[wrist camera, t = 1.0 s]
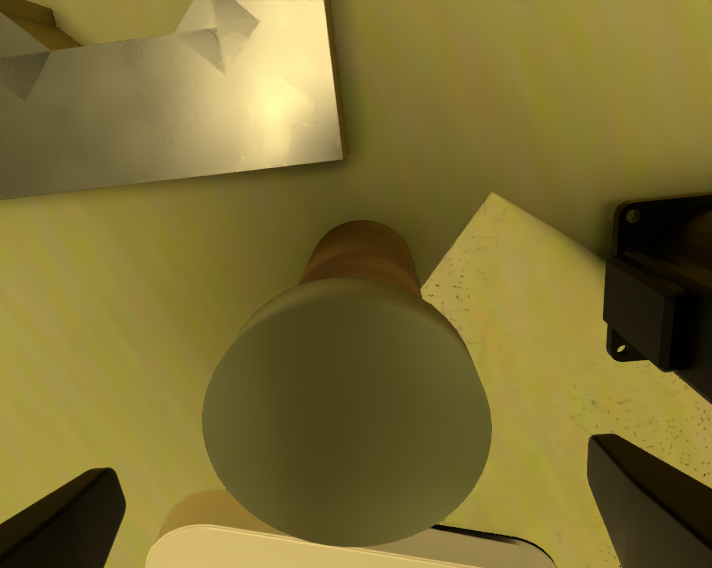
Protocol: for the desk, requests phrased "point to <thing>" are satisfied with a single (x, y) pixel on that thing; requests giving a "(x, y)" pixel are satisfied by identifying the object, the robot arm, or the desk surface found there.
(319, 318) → the walnut peg
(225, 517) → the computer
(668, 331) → the robot arm
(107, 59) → the keyhole plate
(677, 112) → the desk surface
